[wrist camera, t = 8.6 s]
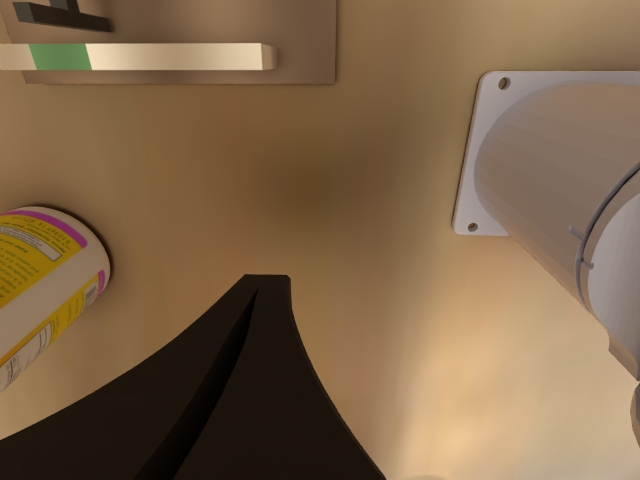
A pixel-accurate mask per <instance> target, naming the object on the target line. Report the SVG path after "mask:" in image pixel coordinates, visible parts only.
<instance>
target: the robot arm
mask: <svg viewBox="0 0 640 480" xmlns="http://www.w3.org/2000/svg"><path fill="white" fill-rule="evenodd" d="M504 77H505V78H506V80H507V84H506V86H505V87H504V88H503V89H500V88H499V86H498V84H499V81H500V80H501V79H502V78H504ZM471 223H475V226H474V227H473V228H471V229H468V226H469V225H470V224H471ZM452 228H453V230H454V232H455V233H456V234H458V235H480V236H512V237H513V238H514V239H515V240H516V241H517V242H518V243H519V244H520V245H521V246H522V247H523V248H524V249H525V250H526V251H527V252H528V253H529V254H530V255H531V256H532V257H533V258H534V259H535V260H536V261H537V262H538V263H539V264H540V265H541V266H543V267H544V268H545V269H546V270H547V271H548V272H549V273H550V274H551V275H552V276H553V277H554V278H555V279H556V280H557V281H558V282H559V283H560V284H561V285H562V286H563V287H564V288H565V289H566V290H567V291H568V292H569V293H570V294H571V295H572V296H573V297H574V298H575V299H576V300H577V301H578V302H579V303H580V304H581V305H582V306H583V307H585V308H586V309H587V310H588V311H589V312H590V313H591V314H592V315H593V316H594V317H595V318H596V319H597V320H598V321H599V323H600V324H601V325H602V326H603V327H604V328H605V329H606V331H607V333H608V335H609V341H610V342H609V352H610V353H611V354H612V355H613V356H614V357H615V358H616V359H617V360H618V361H619V362H620V363H621V364H622V365H623V366H624V367H625V368H626V369H627V370H628V371H629V373H630V374H631V375H632V376H633V377H634V378H635V379H636V380H637V381H640V71H490V72H487V73H486V74H484V75H483V76H482V77H481V79H480V81H479V85H478V90H477V95H476V100H475V106H474V111H473V116H472V121H471V127H470V132H469V137H468V143H467V148H466V153H465V158H464V164H463V169H462V174H461V179H460V185H459V190H458V195H457V201H456V206H455V211H454V216H453V222H452ZM630 414H631V421H632V428H633V431H634V434H635V437H636V440H637V442H638V445H639V447H640V383H639V385H638V386H637V387H636V389H635V391H634V394H633V397H632V402H631V409H630ZM0 480H386V478H385V476H384V475H383V473H382V472H381V471H380V470H379V468H378V467H377V466H376V464H375V463H374V462H373V461H372V459H371V458H370V457H369V455H368V454H367V453H366V451H365V450H364V449H363V447H362V446H361V445H360V443H359V442H358V440H357V439H356V438H355V436H354V435H353V433H352V432H351V430H350V429H349V427H348V426H347V424H346V423H345V421H344V420H343V419H342V417H341V415H340V414H339V412H338V410H337V409H336V407H335V405H334V404H333V402H332V400H331V399H330V397H329V395H328V394H327V392H326V390H325V389H324V387H323V385H322V383H321V381H320V379H319V378H318V376H317V374H316V372H315V370H314V368H313V366H312V363H311V361H310V359H309V357H308V355H307V352H306V350H305V348H304V345H303V343H302V340H301V337H300V334H299V332H298V329H297V325H296V322H295V319H294V315H293V311H292V301H291V279H290V278H289V277H288V276H287V275H254V274H245V275H244V276H243V277H242V278H241V279H240V280H239V281H237V282H236V283H235V284H234V285H233V286H232V287H231V288H230V289H229V290H228V291H227V292H226V293H225V294H224V295H223V296H222V297H221V298H220V299H219V300H218V301H217V302H216V303H215V304H214V305H213V306H212V307H210V308H209V309H208V310H207V311H206V312H205V313H204V314H203V315H202V316H201V317H200V318H198V319H197V320H196V321H195V322H194V323H192V324H191V325H190V326H189V327H188V328H187V329H185V330H184V331H183V332H182V333H181V334H179V335H178V336H177V337H176V338H174V339H173V340H172V341H171V342H169V343H168V344H167V345H165V346H164V347H163V348H161V349H160V350H158V351H157V352H156V353H154V354H153V355H151V356H150V357H148V358H147V359H146V360H144V361H143V362H141V363H140V364H138V365H137V366H135V367H134V368H132V369H131V370H129V371H127V372H126V373H124V374H122V375H121V376H119V377H117V378H116V379H114V380H113V381H111V382H109V383H108V384H106V385H104V386H103V387H101V388H100V389H98V390H96V391H95V392H93V393H91V394H89V395H88V396H86V397H84V398H82V399H80V400H79V401H77V402H75V403H73V404H71V405H70V406H68V407H66V408H64V409H62V410H60V411H58V412H56V413H54V414H53V415H51V416H49V417H47V418H45V419H43V420H41V421H39V422H37V423H35V424H33V425H31V426H29V427H27V428H25V429H23V430H21V431H19V432H17V433H15V434H12V435H10V436H8V437H6V438H4V439H2V440H0Z"/></svg>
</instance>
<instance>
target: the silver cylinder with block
mask: <svg viewBox="0 0 640 480" xmlns="http://www.w3.org/2000/svg"><path fill="white" fill-rule="evenodd" d="M49 2H50V6H46V5H41V4H36V3H31V2H12V3H13V6H14V9H15V12H16V15H17V18H18V21H19V22H25V23H33V24H40V25H48V26H55V27H63V28H70V29H78V30H85V31H93V32H111V29H110V24H109V20H108V18H105V17H100V16H95V15H90V14H85V13H80V10H79V6H78V2H77V0H49Z"/></svg>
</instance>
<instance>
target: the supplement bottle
mask: <svg viewBox="0 0 640 480" xmlns="http://www.w3.org/2000/svg"><path fill="white" fill-rule="evenodd" d="M109 276H110V263H109V259H108V256H107V253H106V251H105V249H104V247H103V246H102V244H101V242H100V241H99V240H98V238H97V237H96V236H95V235H94V233H93V232H92V231H91V230H90V229H88V228H87V227H86V226H85V225H84V224H82V223H81V222H80V221H78V220H76V219H75V218H73V217H71V216H69V215H67V214H65V213H63V212H60V211H57V210H54V209H50V208H45V207H35V206H32V207H22V208H18V209H14V210H11V211H9V212H6V213H4V214H2V215H0V394H1V393H2V392H3V391H4V390H5V389H6V388H7V387H8V386H9V385H10V384H11V383H12V382H13V381H14V380H15V379H16V378H17V377H18V376H19V375H20V374H21V373H22V372H23V371H24V370H25V369H26V368H27V367H28V366H29V365H30V364H31V363H32V362H33V361H34V360H35V359H36V358H37V357H38V356H39V355H40V354H41V353H42V352H43V351H44V350H45V349H46V348H47V347H48V346H49V345H50V344H51V343H52V342H53V341H54V340H55V339H56V338H57V337H58V336H59V335H60V334H62V332H63V331H64V330H65V329H66V328H67V327H68V326H69V325H70V324H71V323H72V322H73V321H74V320H75V319H76V318H77V317H79V316H80V315H81V313H82V312H83V311H84V310H85V309H86V308H87V307H89V306H90V304H91V303H93V302H94V301H95V299H96V298H97V297H98V296H99V295H100V294H101V293H102V292H103V290H104V289H105V287H106V285H107V283H108V280H109Z"/></svg>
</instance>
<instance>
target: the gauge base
mask: <svg viewBox="0 0 640 480" xmlns="http://www.w3.org/2000/svg"><path fill="white" fill-rule="evenodd" d="M12 2H31V3H36V4H41V5H46V6H50V2H49V0H0V11H1V14H2V16H3V19H4V22H5V25H6V28H7V31H8V33H9V36H10V39H11V42H12V44H0V70H22V73H23V76H24V79H25V82H26V84H335V52H336V0H77V2H78V6H79V10H80V13H85V14H90V15H95V16H100V17H105V18H108V20H109V24H110V29H111V32H93V31H85V30H78V29H70V28H63V27H55V26H48V25H40V24H33V23H25V22H19V21H18V18H17V15H16V12H15V9H14V6H13V3H12Z"/></svg>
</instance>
